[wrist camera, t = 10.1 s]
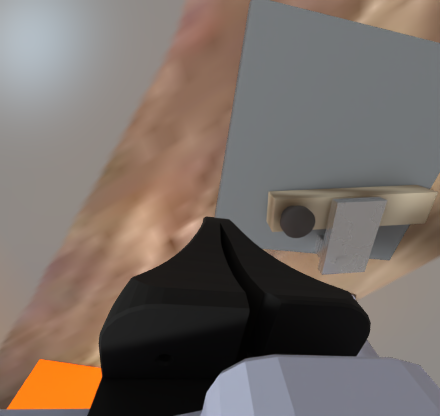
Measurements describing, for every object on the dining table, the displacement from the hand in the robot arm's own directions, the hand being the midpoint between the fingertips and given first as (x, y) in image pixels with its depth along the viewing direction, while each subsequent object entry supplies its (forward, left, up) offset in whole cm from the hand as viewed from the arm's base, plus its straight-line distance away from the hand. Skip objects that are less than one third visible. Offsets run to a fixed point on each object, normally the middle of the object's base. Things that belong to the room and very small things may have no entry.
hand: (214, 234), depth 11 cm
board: (+4, -11, -9) cm, 15 cm away
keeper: (-2, -12, -8) cm, 15 cm away
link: (0, -12, -8) cm, 15 cm away
